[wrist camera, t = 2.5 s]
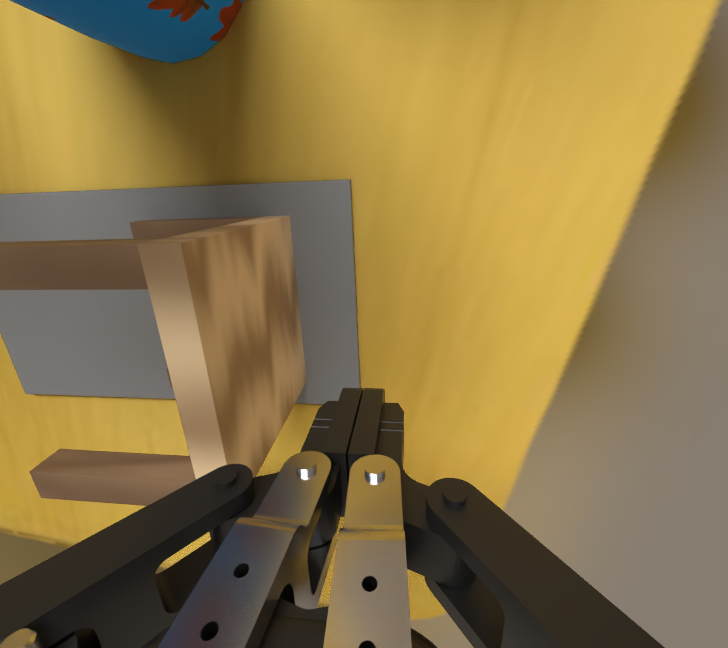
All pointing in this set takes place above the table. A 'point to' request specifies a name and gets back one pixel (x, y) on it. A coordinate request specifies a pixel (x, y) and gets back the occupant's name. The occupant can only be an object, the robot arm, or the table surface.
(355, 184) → the table surface
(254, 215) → the mat
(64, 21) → the thermos
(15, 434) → the table surface
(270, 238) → the stool
